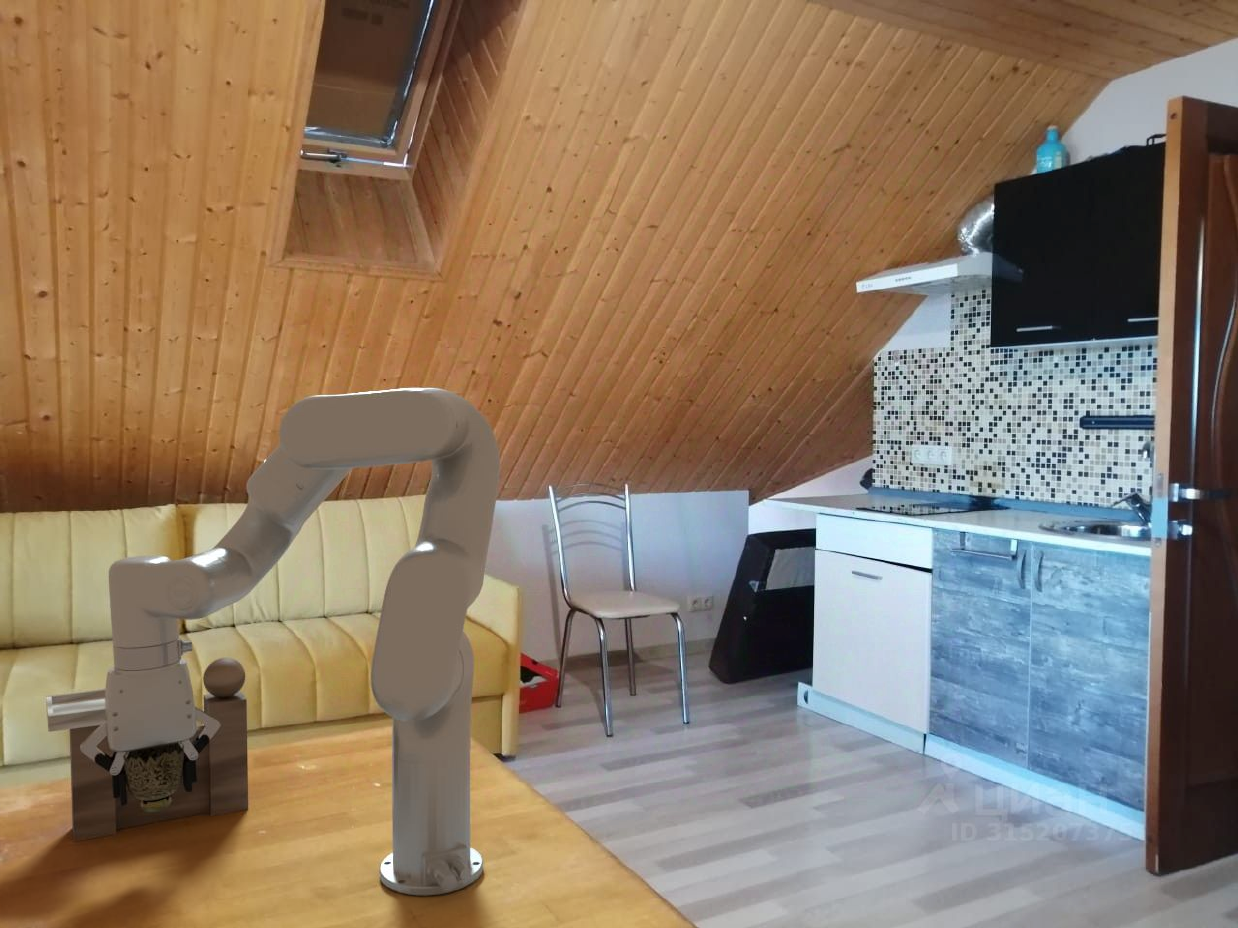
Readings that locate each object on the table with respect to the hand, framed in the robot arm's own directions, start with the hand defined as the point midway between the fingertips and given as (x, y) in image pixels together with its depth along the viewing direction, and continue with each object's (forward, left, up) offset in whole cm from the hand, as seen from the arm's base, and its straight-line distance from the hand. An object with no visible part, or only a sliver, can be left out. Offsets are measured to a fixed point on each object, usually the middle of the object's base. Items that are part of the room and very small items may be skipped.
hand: (155, 794), depth 128 cm
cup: (0, 0, -2) cm, 2 cm away
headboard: (+15, -1, -9) cm, 17 cm away
